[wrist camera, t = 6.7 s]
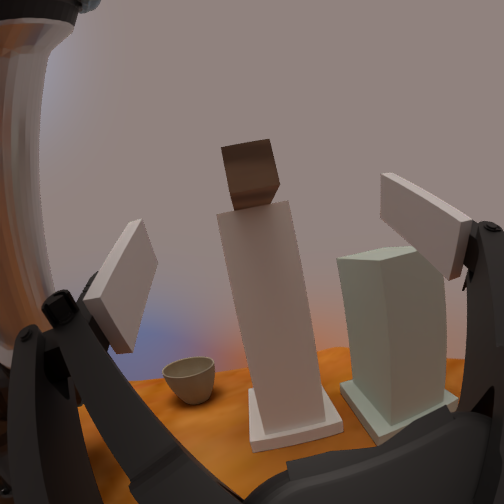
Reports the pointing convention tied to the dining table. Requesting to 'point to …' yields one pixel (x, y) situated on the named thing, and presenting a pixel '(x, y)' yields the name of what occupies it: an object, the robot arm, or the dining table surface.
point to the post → (394, 338)
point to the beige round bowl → (191, 378)
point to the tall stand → (275, 328)
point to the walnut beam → (250, 173)
